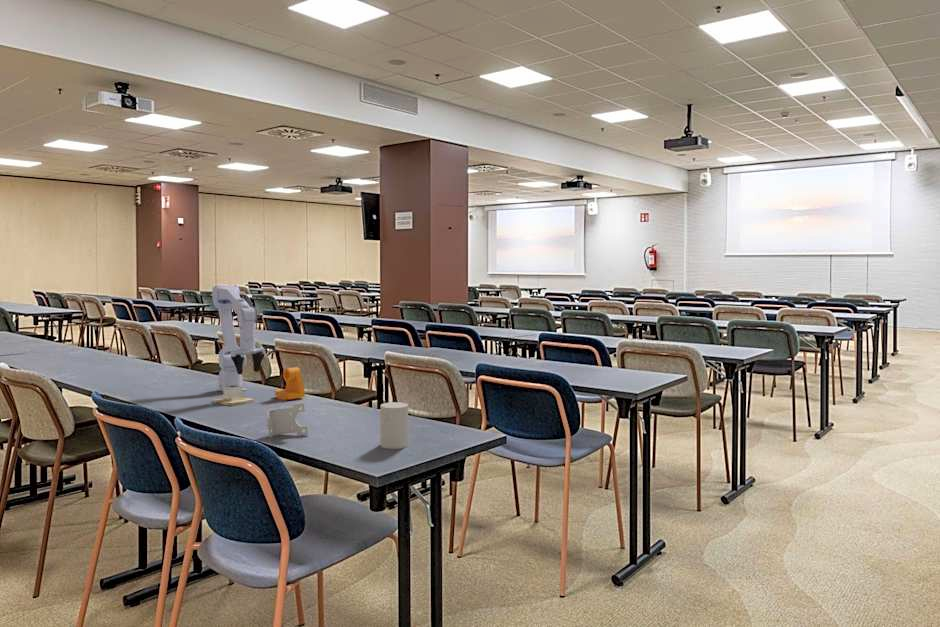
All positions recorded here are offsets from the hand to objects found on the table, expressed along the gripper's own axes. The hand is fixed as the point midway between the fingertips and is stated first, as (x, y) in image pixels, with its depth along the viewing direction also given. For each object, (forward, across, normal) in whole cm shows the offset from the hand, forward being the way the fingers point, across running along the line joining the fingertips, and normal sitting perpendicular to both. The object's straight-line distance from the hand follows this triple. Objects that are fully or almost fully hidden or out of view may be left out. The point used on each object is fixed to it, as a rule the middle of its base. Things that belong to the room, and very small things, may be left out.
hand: (248, 372), depth 275 cm
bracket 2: (+10, -30, -60) cm, 68 cm away
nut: (+9, -9, -3) cm, 13 cm away
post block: (+10, -9, -3) cm, 13 cm away
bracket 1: (+10, +9, -13) cm, 19 cm away
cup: (+9, -17, -93) cm, 95 cm away
